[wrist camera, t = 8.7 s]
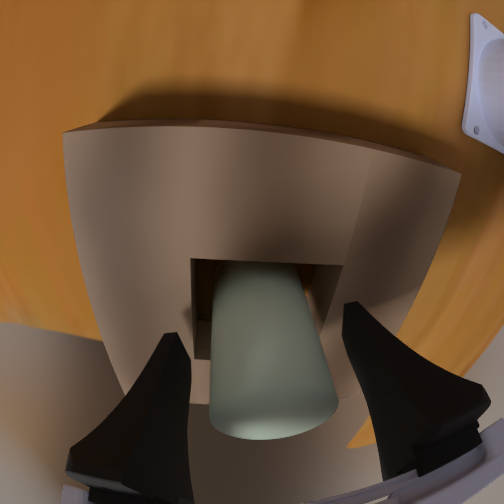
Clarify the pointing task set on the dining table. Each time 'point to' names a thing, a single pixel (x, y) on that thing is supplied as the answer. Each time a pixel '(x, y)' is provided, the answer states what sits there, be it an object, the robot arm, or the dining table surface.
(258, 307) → the peg
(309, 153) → the socket block
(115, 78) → the dining table surface
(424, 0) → the dining table surface
